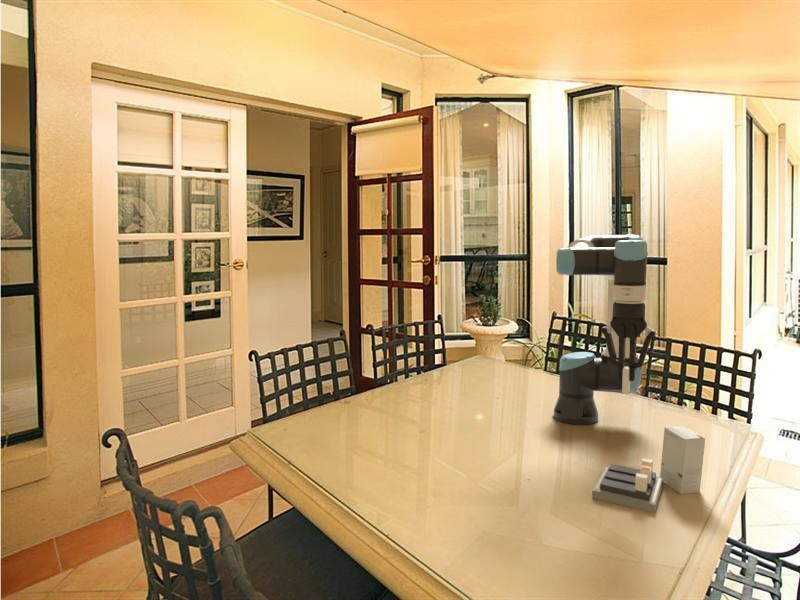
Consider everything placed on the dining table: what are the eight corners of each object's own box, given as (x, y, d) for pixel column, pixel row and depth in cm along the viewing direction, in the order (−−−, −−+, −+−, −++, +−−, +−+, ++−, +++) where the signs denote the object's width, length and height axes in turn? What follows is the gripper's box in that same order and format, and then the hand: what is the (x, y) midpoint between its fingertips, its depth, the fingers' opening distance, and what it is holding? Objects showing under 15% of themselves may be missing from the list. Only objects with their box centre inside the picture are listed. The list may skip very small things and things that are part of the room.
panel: (592, 498, 129) (592, 484, 128) (605, 472, 142) (606, 460, 142) (654, 513, 121) (655, 498, 121) (662, 485, 135) (663, 472, 134)
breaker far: (641, 473, 133) (641, 460, 133) (642, 470, 135) (642, 457, 135) (651, 475, 132) (651, 462, 132) (652, 472, 134) (652, 459, 133)
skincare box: (659, 480, 137) (661, 426, 136) (679, 478, 138) (681, 424, 137) (681, 495, 129) (684, 438, 127) (703, 493, 130) (706, 436, 128)
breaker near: (634, 490, 125) (635, 476, 125) (636, 486, 127) (636, 472, 126) (645, 492, 124) (646, 478, 123) (647, 488, 125) (647, 475, 125)
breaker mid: (639, 481, 129) (640, 467, 129) (640, 478, 131) (641, 464, 130) (650, 484, 128) (650, 469, 127) (651, 480, 129) (651, 466, 129)
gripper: (598, 302, 131) (596, 392, 134) (655, 304, 124) (652, 400, 127) (604, 298, 137) (602, 385, 140) (659, 301, 130) (655, 392, 133)
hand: (626, 392), depth 134 cm, fingers closed
